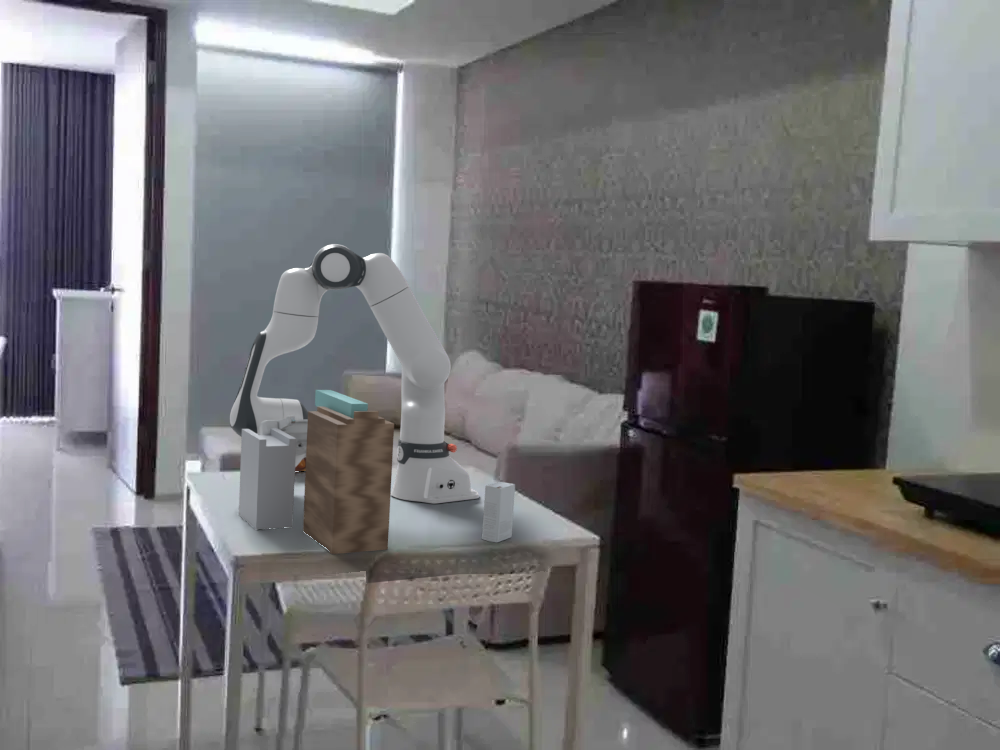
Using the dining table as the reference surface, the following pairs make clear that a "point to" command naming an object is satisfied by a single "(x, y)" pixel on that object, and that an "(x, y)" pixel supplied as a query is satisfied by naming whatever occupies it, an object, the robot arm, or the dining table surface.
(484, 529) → the skincare box
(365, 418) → the notched wooden block
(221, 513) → the dining table surface
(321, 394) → the rail
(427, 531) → the dining table surface
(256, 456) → the rest block
